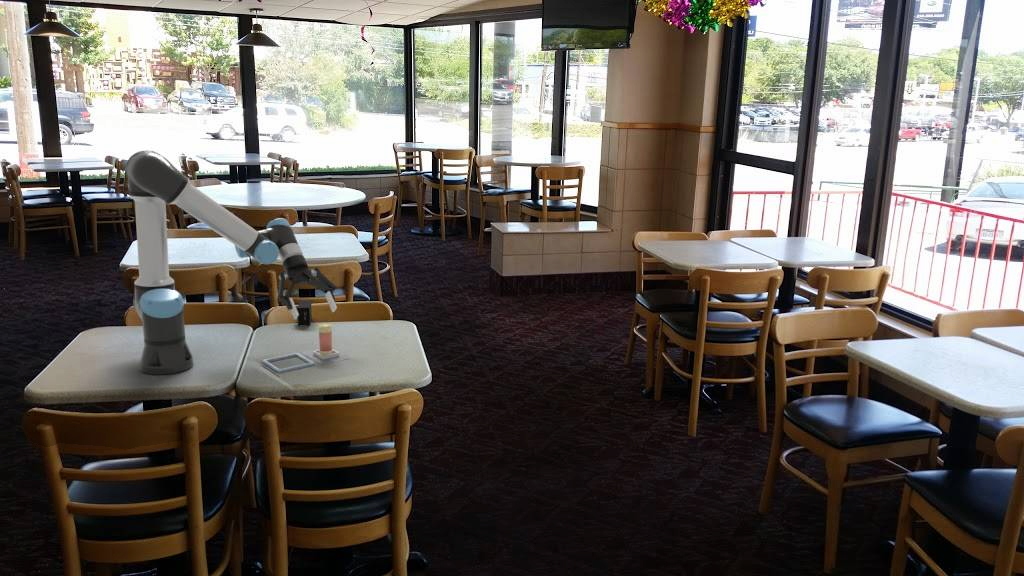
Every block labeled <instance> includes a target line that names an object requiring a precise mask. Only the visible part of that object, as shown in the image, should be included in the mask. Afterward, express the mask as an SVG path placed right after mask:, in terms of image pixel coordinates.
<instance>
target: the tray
mask: <svg viewBox="0 0 1024 576" xmlns="http://www.w3.org/2000/svg"><path fill="white" fill-rule="evenodd" d="M293 357H297V358H298V359H300V360H302V361H304V362H306V363H303V364H299V365H294V366H289V367H288V366H287V367H284V368H278V367H277V366H275V365H274V364H272V363H270V362H274V361H279V360H284V359H288V358H293ZM261 363H262V364H264V365H266V366H267V367H269V368H270V369H271V370H270V369H269V368H267V367H266V366H264V365H262V367H263V369H265V370H267V371H268V372H269V373H271V374H273V375H274V376H275V377H278V378H280V376H279V375H278V374H280V373H284V372H285V373H286V372H290V371H294V370H297V369H302V368H307V367H312V366H315V362H314V361H312V359H311V360H310V359H309V358H307V357H305V356H304V355H302V354H300V353H299V352H294V353H290V354H289V353H288V354H285V355H279V356H274V357H271V358H265V359H262V360H261ZM272 370H274V371H275V372H277V373H278V374H276V373H275V372H273V371H272Z"/></svg>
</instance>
